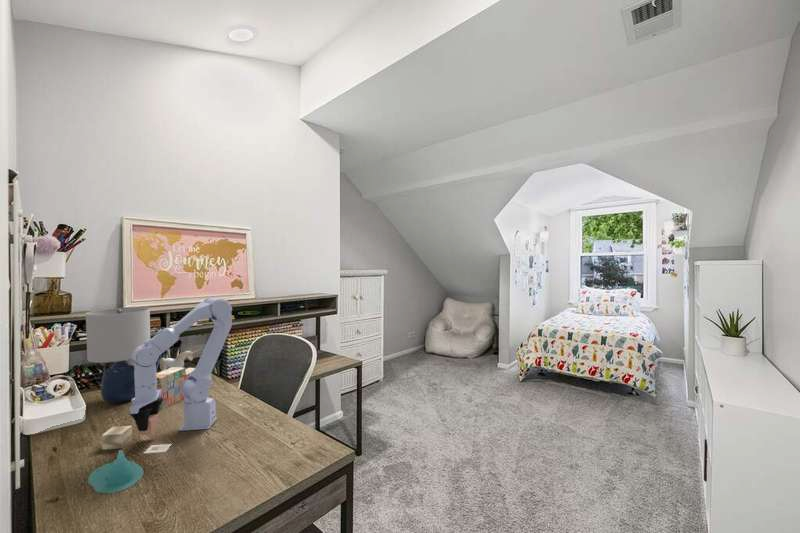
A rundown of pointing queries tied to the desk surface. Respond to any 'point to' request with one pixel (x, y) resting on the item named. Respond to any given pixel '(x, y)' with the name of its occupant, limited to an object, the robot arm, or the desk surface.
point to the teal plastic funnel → (115, 475)
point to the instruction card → (157, 448)
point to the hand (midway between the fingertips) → (147, 426)
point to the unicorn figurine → (176, 360)
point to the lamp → (117, 347)
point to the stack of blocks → (172, 384)
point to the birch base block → (116, 437)
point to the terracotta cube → (149, 426)
